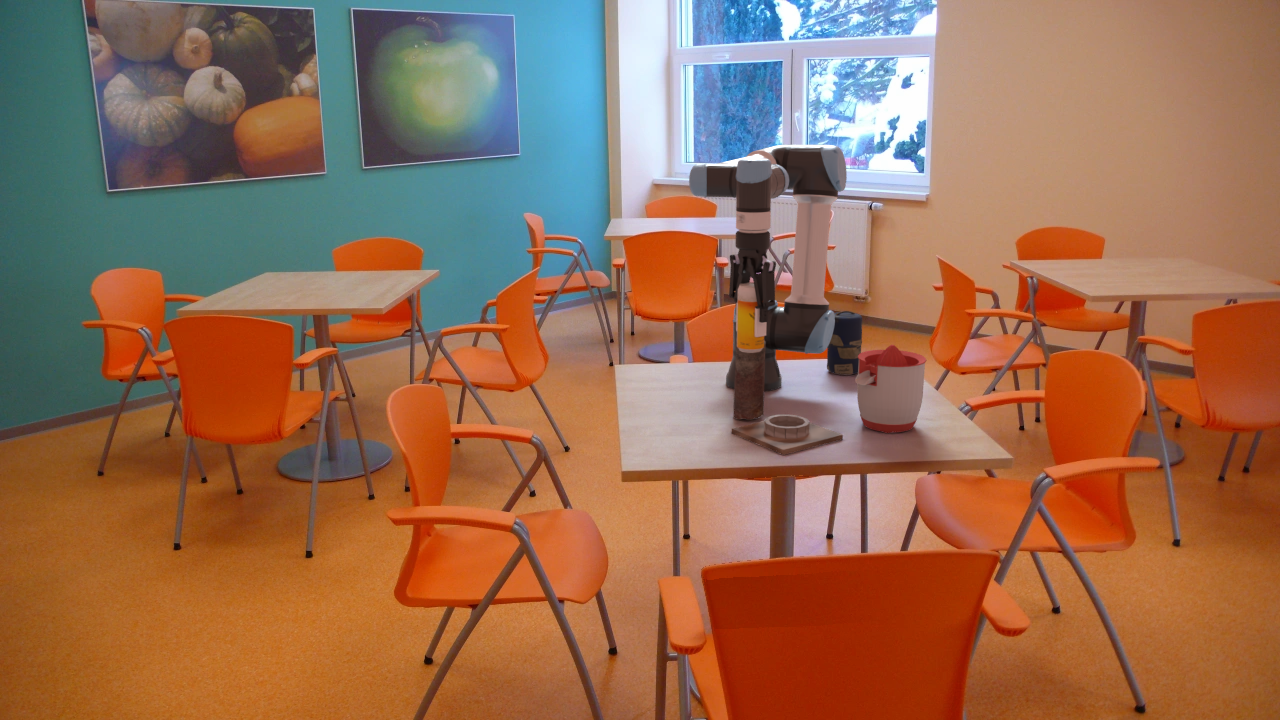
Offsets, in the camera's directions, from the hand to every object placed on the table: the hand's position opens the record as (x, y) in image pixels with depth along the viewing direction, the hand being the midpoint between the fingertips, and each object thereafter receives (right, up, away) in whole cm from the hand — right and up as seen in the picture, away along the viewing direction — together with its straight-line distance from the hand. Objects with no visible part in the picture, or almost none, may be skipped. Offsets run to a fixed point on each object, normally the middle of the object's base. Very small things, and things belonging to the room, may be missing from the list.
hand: (750, 333), depth 222 cm
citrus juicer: (+33, -22, +13) cm, 42 cm away
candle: (+2, -20, +20) cm, 29 cm away
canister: (+33, -10, +60) cm, 69 cm away
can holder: (+9, -24, +6) cm, 26 cm away
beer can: (0, -4, +1) cm, 4 cm away
